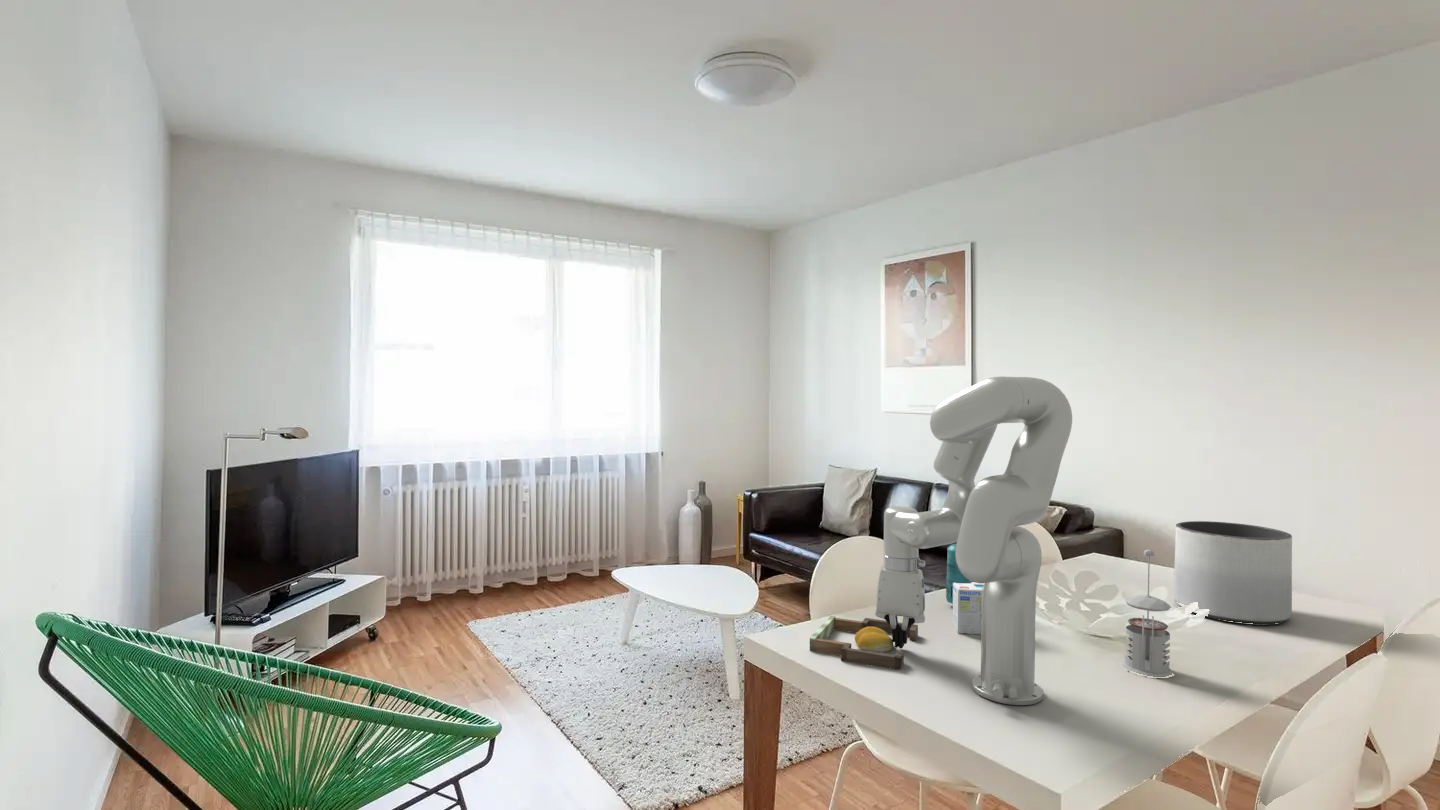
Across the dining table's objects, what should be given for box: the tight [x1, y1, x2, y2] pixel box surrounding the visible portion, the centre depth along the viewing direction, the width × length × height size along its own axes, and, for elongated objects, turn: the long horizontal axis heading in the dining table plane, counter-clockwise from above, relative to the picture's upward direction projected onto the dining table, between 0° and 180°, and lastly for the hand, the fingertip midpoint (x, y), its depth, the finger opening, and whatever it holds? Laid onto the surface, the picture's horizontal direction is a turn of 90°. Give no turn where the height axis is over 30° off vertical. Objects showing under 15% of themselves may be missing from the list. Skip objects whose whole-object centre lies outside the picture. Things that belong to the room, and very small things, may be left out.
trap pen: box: [809, 615, 919, 671], centre depth 161 cm, size 23×20×3 cm
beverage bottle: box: [945, 543, 973, 605], centre depth 191 cm, size 6×7×20 cm
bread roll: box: [854, 627, 894, 653], centre depth 160 cm, size 8×9×4 cm
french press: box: [1120, 549, 1174, 677], centre depth 147 cm, size 10×12×25 cm
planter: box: [1173, 520, 1293, 625], centre depth 189 cm, size 25×25×22 cm
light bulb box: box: [952, 582, 985, 635], centre depth 172 cm, size 11×7×11 cm, turn 84°
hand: (899, 645), depth 158 cm, fingers closed
